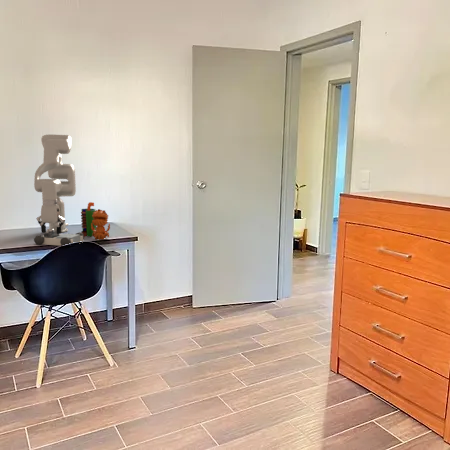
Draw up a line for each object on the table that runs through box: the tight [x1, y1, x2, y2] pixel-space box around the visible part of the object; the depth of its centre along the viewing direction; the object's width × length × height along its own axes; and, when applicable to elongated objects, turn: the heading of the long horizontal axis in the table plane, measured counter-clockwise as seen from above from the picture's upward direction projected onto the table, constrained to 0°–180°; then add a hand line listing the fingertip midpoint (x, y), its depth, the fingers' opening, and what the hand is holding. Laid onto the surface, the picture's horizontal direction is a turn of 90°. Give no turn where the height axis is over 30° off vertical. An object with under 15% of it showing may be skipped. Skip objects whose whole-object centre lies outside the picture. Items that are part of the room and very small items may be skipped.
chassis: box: [33, 231, 85, 247], centre depth 250 cm, size 16×22×5 cm
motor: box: [80, 201, 97, 237], centre depth 272 cm, size 10×9×20 cm
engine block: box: [43, 228, 59, 238], centre depth 251 cm, size 7×5×6 cm
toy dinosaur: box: [91, 209, 111, 240], centre depth 262 cm, size 11×11×18 cm
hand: (51, 233), depth 250 cm, fingers open, 9 cm apart
